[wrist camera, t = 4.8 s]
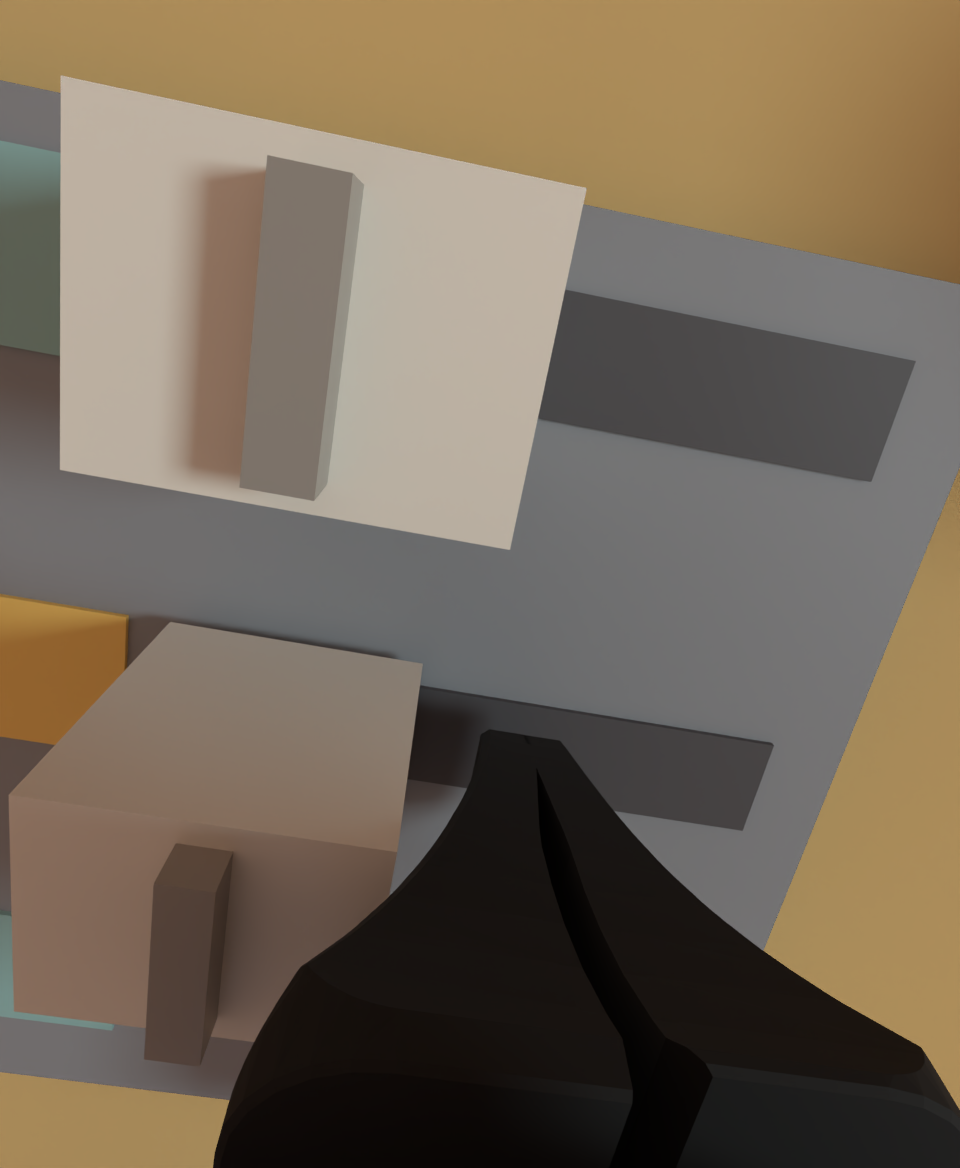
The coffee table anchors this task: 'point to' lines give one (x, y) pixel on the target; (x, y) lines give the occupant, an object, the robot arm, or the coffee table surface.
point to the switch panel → (526, 559)
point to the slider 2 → (207, 834)
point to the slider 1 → (302, 315)
